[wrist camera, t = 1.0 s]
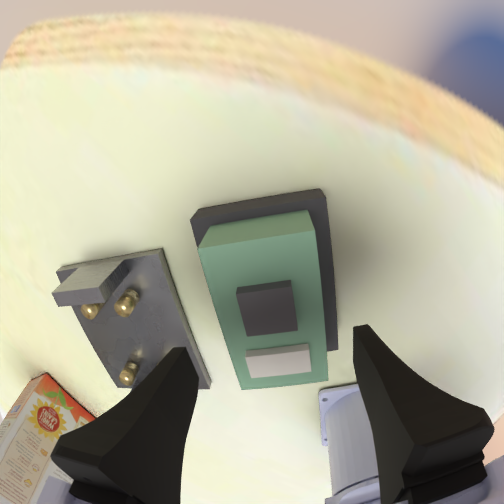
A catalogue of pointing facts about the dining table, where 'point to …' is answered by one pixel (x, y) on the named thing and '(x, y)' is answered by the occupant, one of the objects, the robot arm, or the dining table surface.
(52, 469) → the cracker box
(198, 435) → the dining table surface
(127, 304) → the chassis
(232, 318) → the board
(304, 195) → the pad
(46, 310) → the dining table surface
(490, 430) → the robot arm
